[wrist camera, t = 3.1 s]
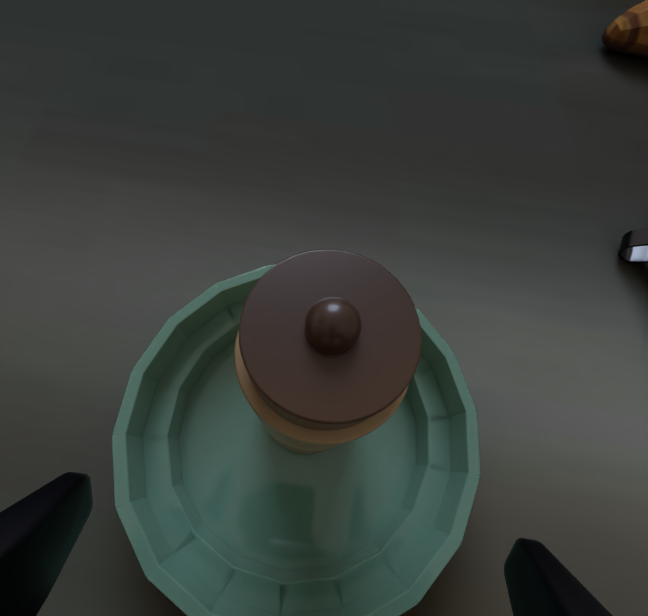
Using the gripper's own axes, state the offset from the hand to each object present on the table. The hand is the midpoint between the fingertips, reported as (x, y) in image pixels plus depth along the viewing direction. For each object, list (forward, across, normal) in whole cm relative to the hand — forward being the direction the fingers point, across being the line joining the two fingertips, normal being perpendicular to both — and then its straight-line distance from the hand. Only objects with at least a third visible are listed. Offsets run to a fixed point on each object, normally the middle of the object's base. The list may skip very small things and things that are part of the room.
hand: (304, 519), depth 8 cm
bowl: (+9, 0, +6) cm, 11 cm away
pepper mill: (+10, 0, +4) cm, 11 cm away
